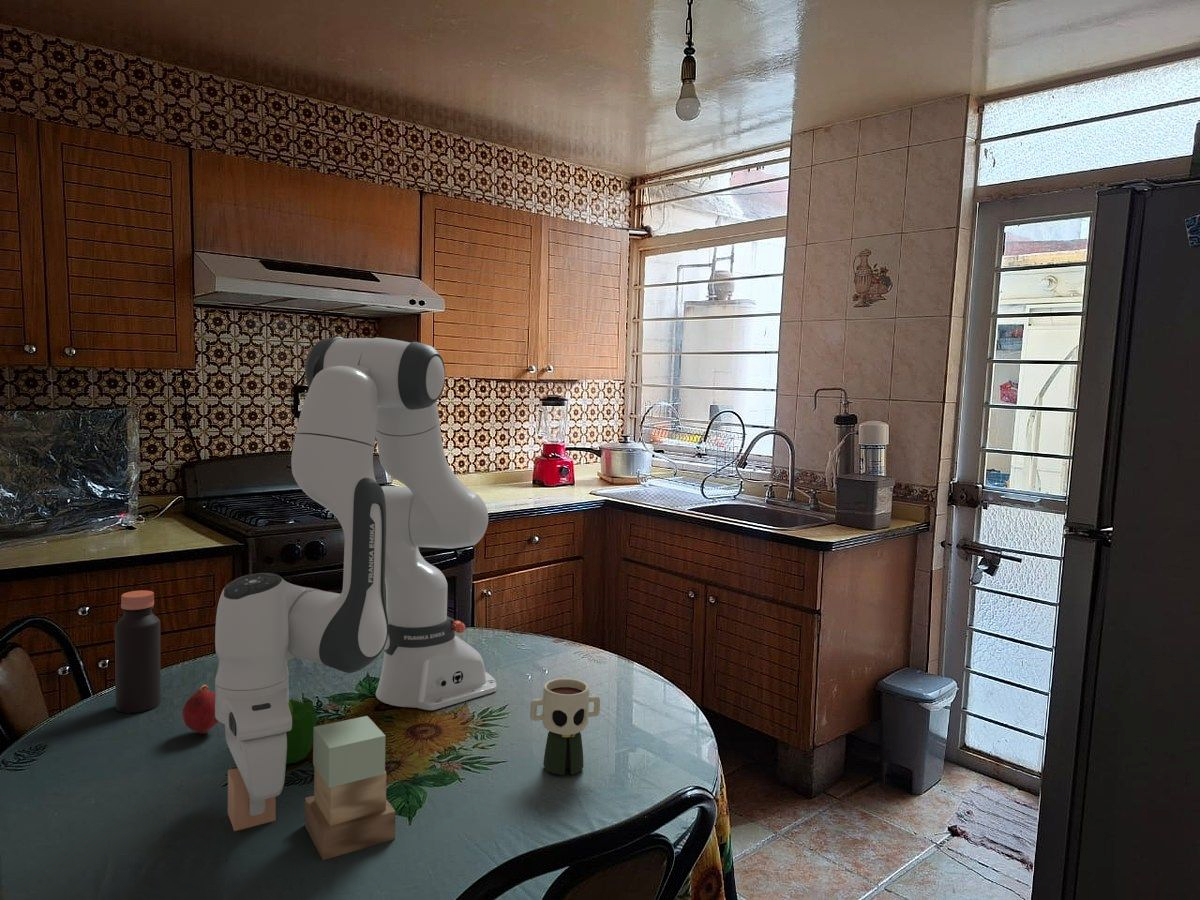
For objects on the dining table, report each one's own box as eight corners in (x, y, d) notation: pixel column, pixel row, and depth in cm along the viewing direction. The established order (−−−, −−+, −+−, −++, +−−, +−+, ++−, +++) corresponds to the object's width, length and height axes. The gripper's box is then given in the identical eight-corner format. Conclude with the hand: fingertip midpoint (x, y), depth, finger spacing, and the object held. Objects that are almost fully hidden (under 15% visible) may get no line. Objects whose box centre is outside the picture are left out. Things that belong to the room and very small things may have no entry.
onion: (206, 743, 125) (206, 694, 124) (174, 738, 126) (174, 690, 125) (230, 728, 130) (230, 681, 130) (199, 724, 132) (199, 677, 131)
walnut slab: (372, 809, 108) (373, 781, 108) (395, 841, 101) (395, 811, 100) (304, 827, 103) (304, 797, 103) (322, 862, 96) (323, 831, 95)
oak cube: (367, 786, 106) (367, 750, 106) (385, 810, 101) (386, 772, 100) (314, 800, 102) (314, 763, 102) (330, 825, 97) (330, 786, 96)
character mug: (532, 783, 116) (535, 697, 115) (524, 760, 123) (527, 679, 122) (603, 776, 119) (606, 693, 118) (592, 755, 126) (595, 676, 125)
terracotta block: (267, 803, 108) (267, 761, 107) (275, 820, 104) (275, 776, 103) (227, 813, 105) (227, 769, 105) (234, 831, 101) (234, 786, 101)
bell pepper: (327, 749, 124) (328, 687, 124) (297, 773, 116) (298, 707, 116) (280, 742, 126) (281, 681, 125) (247, 765, 118) (247, 700, 117)
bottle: (106, 709, 136) (105, 595, 134) (142, 695, 142) (141, 587, 141) (134, 716, 133) (133, 601, 132) (169, 702, 140) (169, 592, 138)
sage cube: (366, 751, 106) (367, 715, 105) (384, 773, 100) (385, 735, 99) (313, 764, 102) (313, 726, 101) (328, 788, 96) (329, 748, 95)
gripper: (213, 678, 110) (213, 773, 111) (240, 734, 93) (239, 845, 94) (261, 670, 114) (261, 763, 115) (295, 723, 97) (294, 831, 98)
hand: (251, 801), depth 104 cm, fingers closed on terracotta block, 5 cm apart
